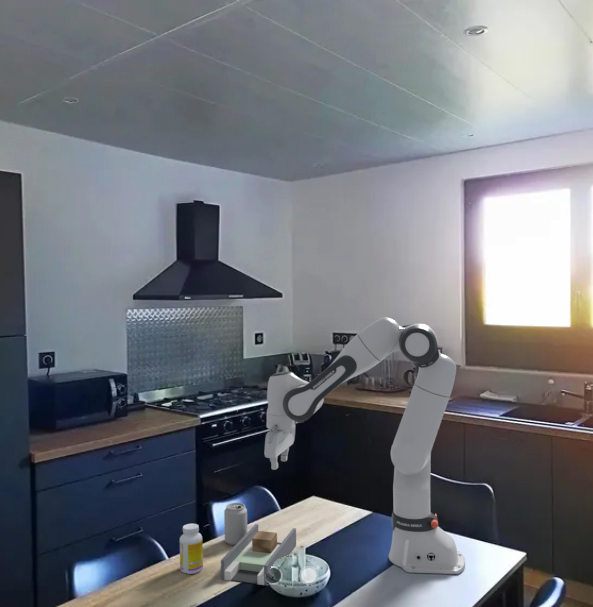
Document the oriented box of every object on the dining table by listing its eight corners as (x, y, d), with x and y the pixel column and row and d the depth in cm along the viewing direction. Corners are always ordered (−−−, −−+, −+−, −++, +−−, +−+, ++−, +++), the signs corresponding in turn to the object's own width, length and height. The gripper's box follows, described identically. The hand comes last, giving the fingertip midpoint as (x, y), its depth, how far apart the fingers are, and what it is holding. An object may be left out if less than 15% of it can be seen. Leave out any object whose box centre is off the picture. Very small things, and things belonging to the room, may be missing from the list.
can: (246, 546, 191) (245, 509, 190) (223, 546, 191) (222, 509, 191) (248, 536, 198) (248, 501, 198) (226, 537, 198) (225, 501, 198)
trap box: (296, 545, 191) (296, 528, 191) (267, 585, 164) (267, 565, 164) (255, 540, 195) (255, 524, 195) (221, 579, 169) (220, 560, 168)
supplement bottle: (207, 567, 176) (206, 524, 176) (194, 576, 170) (193, 532, 170) (188, 563, 179) (188, 520, 179) (175, 572, 173) (174, 528, 173)
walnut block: (277, 545, 185) (277, 532, 185) (270, 553, 179) (270, 540, 179) (259, 543, 187) (259, 530, 187) (252, 551, 181) (252, 538, 181)
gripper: (279, 430, 179) (278, 475, 179) (298, 416, 198) (297, 457, 199) (259, 428, 181) (258, 473, 181) (280, 415, 200) (280, 455, 201)
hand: (279, 464), depth 190 cm, fingers open, 8 cm apart
